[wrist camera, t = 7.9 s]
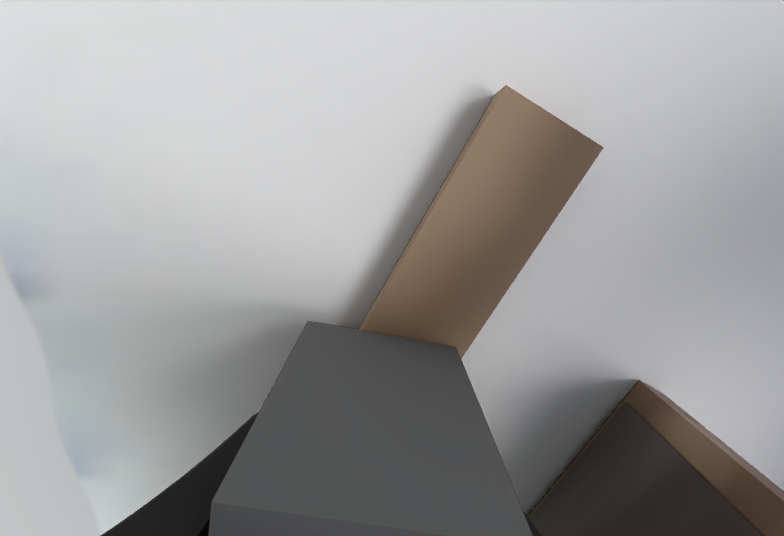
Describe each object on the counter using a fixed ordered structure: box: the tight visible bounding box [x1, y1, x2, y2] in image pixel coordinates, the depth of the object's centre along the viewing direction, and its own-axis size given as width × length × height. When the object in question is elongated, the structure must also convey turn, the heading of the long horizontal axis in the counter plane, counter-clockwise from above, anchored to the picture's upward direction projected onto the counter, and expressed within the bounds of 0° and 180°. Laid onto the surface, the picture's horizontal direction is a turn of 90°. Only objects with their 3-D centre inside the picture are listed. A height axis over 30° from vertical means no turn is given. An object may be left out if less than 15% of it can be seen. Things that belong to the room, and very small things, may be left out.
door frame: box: [358, 85, 784, 536], centre depth 10 cm, size 10×18×6 cm, turn 151°
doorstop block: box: [208, 321, 533, 536], centre depth 8 cm, size 4×4×6 cm
